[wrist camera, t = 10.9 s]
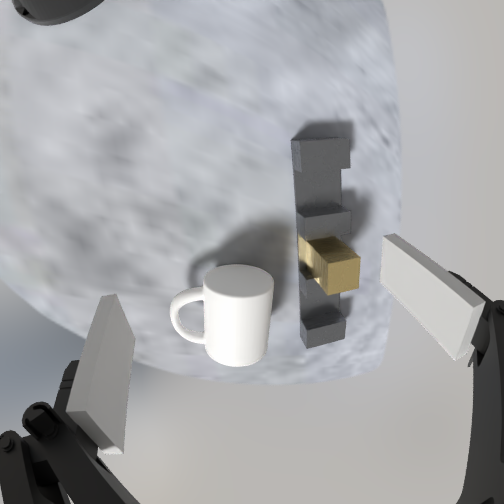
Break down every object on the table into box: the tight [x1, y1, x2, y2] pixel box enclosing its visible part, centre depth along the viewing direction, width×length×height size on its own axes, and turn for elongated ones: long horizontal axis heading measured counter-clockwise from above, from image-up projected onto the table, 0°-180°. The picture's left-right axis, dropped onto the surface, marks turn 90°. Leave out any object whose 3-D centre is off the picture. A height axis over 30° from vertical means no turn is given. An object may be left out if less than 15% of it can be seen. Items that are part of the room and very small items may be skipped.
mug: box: [170, 264, 274, 367], centre depth 36 cm, size 12×10×8 cm
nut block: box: [306, 236, 361, 295], centre depth 37 cm, size 4×4×7 cm
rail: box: [291, 137, 351, 349], centre depth 39 cm, size 28×6×3 cm, turn 6°
